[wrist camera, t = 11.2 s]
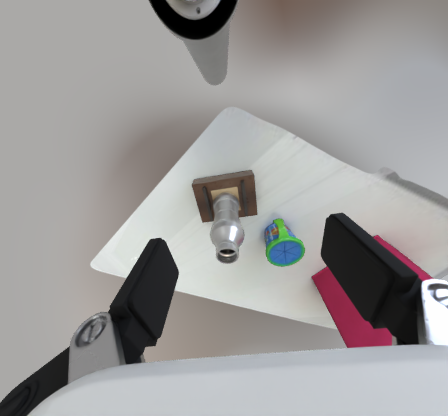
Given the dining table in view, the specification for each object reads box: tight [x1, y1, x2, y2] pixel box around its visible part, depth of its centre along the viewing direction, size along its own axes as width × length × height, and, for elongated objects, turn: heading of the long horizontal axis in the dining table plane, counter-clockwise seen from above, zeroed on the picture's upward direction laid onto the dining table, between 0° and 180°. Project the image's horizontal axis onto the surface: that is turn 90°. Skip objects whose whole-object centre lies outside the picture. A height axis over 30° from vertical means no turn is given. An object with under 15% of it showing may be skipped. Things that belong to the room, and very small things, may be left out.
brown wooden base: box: [192, 170, 257, 223], centre depth 46 cm, size 12×16×6 cm
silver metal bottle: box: [210, 192, 244, 264], centre depth 35 cm, size 6×7×20 cm
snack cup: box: [265, 219, 305, 267], centre depth 50 cm, size 16×10×10 cm
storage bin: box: [312, 235, 434, 348], centre depth 52 cm, size 28×29×28 cm
